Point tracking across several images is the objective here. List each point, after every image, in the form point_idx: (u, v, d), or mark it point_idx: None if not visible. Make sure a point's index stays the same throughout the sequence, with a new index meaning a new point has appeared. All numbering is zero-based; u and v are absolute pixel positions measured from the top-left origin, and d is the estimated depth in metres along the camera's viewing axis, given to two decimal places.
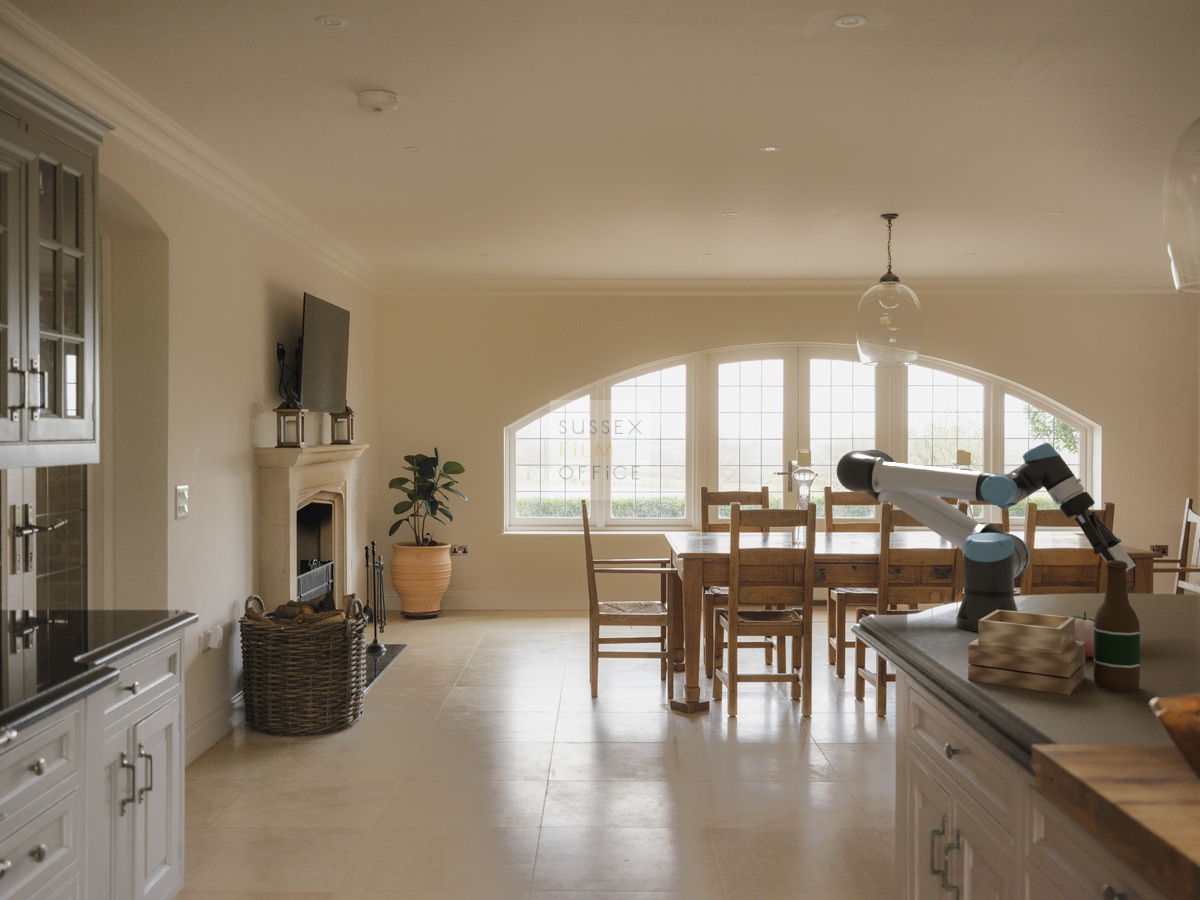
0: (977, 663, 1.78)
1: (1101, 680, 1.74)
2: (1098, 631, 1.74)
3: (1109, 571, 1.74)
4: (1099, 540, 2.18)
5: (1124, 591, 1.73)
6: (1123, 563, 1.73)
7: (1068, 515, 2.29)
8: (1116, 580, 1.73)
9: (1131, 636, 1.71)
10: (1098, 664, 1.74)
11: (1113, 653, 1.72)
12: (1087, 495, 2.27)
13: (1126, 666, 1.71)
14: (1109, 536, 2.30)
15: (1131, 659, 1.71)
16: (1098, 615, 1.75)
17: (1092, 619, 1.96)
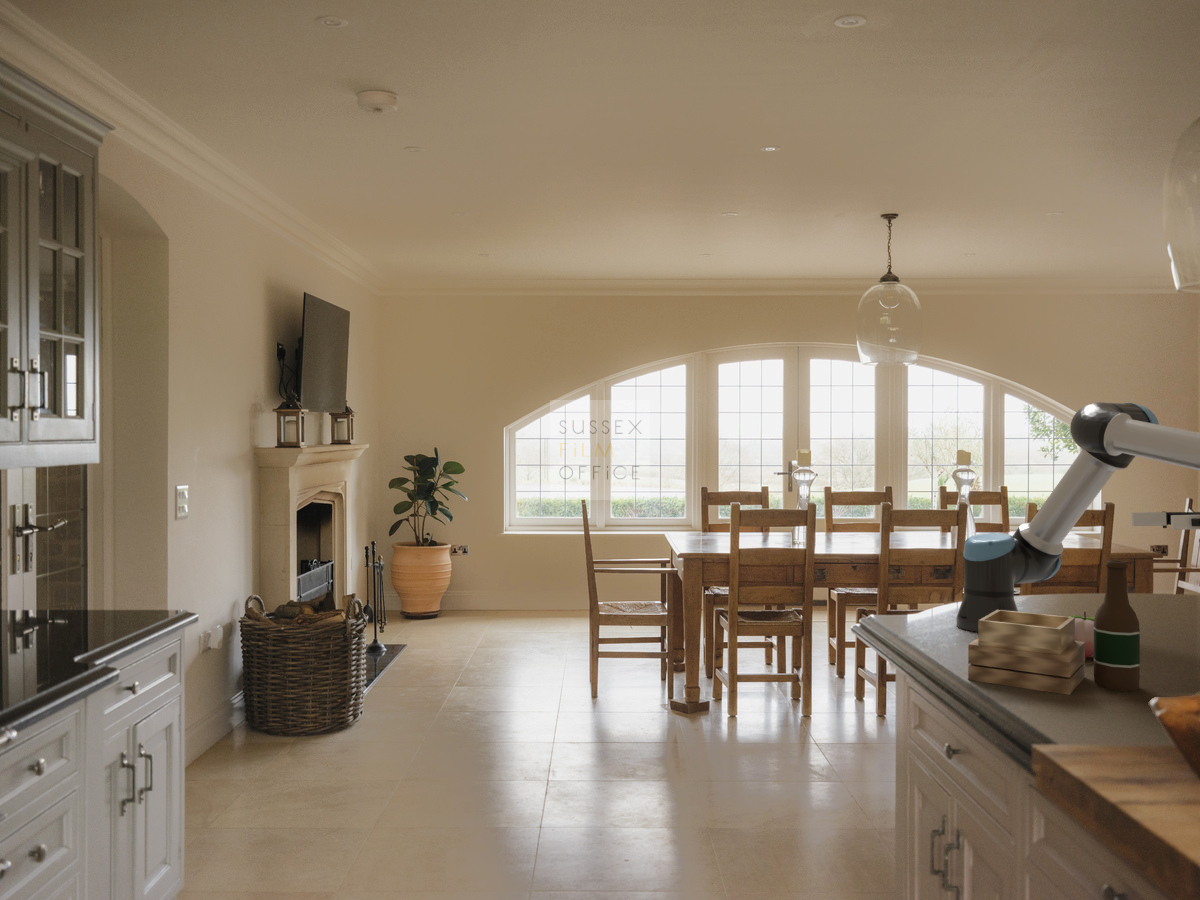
0: (977, 663, 1.78)
1: (1101, 680, 1.74)
2: (1098, 631, 1.74)
3: (1109, 571, 1.74)
4: None
5: (1124, 591, 1.73)
6: (1123, 563, 1.73)
7: None
8: (1116, 580, 1.73)
9: (1131, 636, 1.71)
10: (1098, 664, 1.74)
11: (1113, 653, 1.72)
12: None
13: (1126, 666, 1.71)
14: None
15: (1131, 659, 1.71)
16: (1098, 615, 1.75)
17: (1092, 619, 1.96)
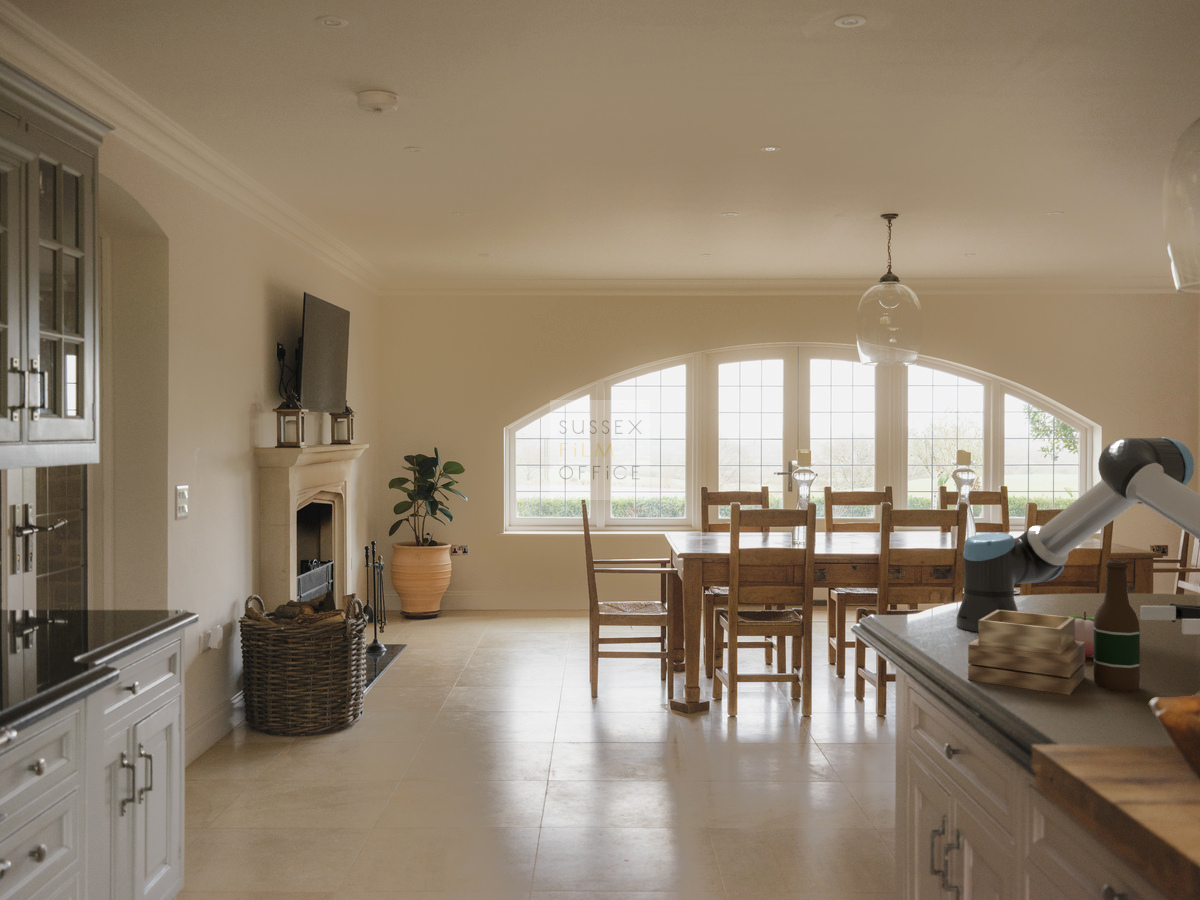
0: (977, 663, 1.78)
1: (1101, 680, 1.74)
2: (1098, 631, 1.74)
3: (1109, 571, 1.74)
4: None
5: (1124, 591, 1.73)
6: (1123, 563, 1.73)
7: None
8: (1116, 580, 1.73)
9: (1131, 636, 1.71)
10: (1098, 664, 1.74)
11: (1113, 653, 1.72)
12: None
13: (1126, 666, 1.71)
14: (1191, 618, 1.79)
15: (1131, 659, 1.71)
16: (1098, 615, 1.75)
17: (1092, 619, 1.96)
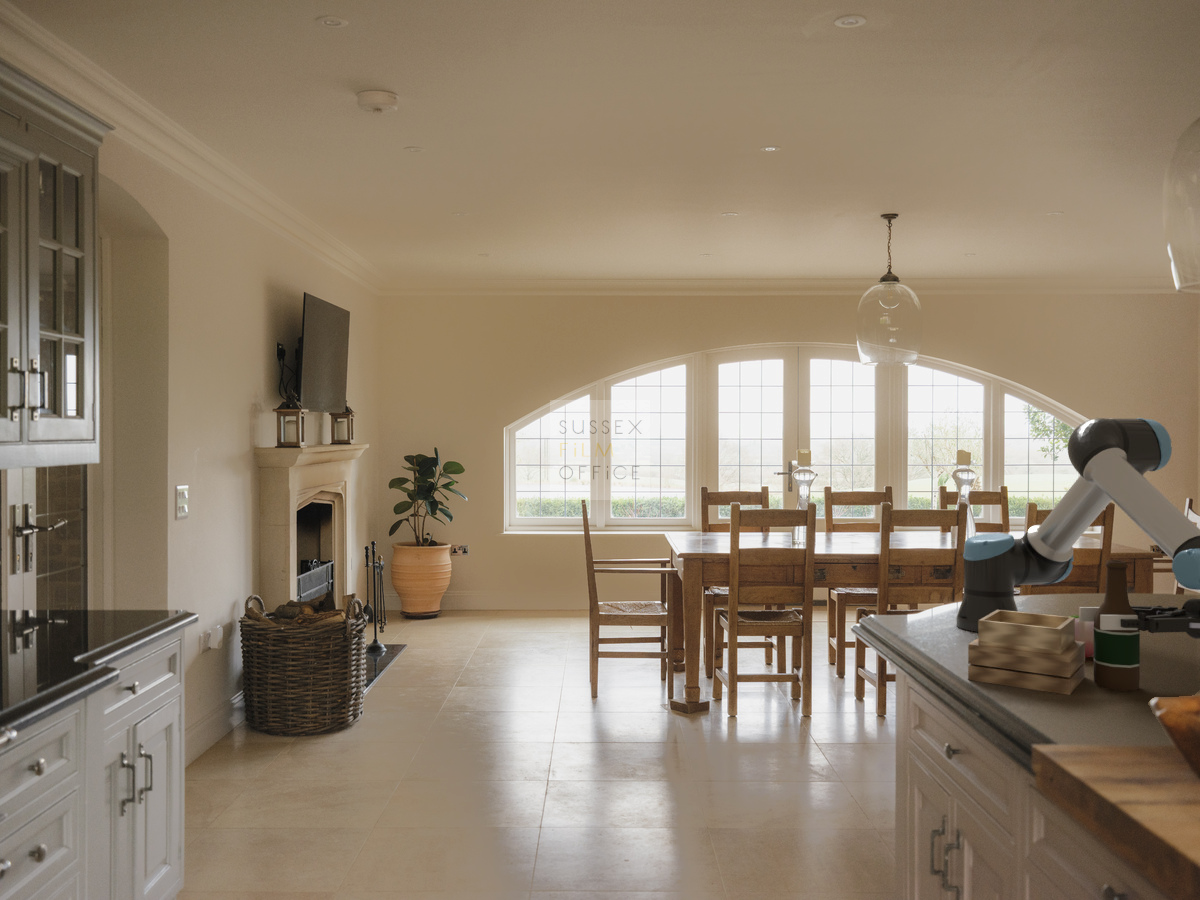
0: (977, 663, 1.78)
1: (1101, 680, 1.74)
2: (1098, 631, 1.74)
3: (1109, 571, 1.74)
4: (1159, 630, 1.67)
5: (1124, 591, 1.73)
6: (1123, 563, 1.73)
7: None
8: (1116, 580, 1.73)
9: (1131, 635, 1.71)
10: (1098, 664, 1.74)
11: (1113, 653, 1.72)
12: None
13: (1126, 666, 1.71)
14: None
15: (1131, 659, 1.71)
16: (1098, 615, 1.75)
17: None
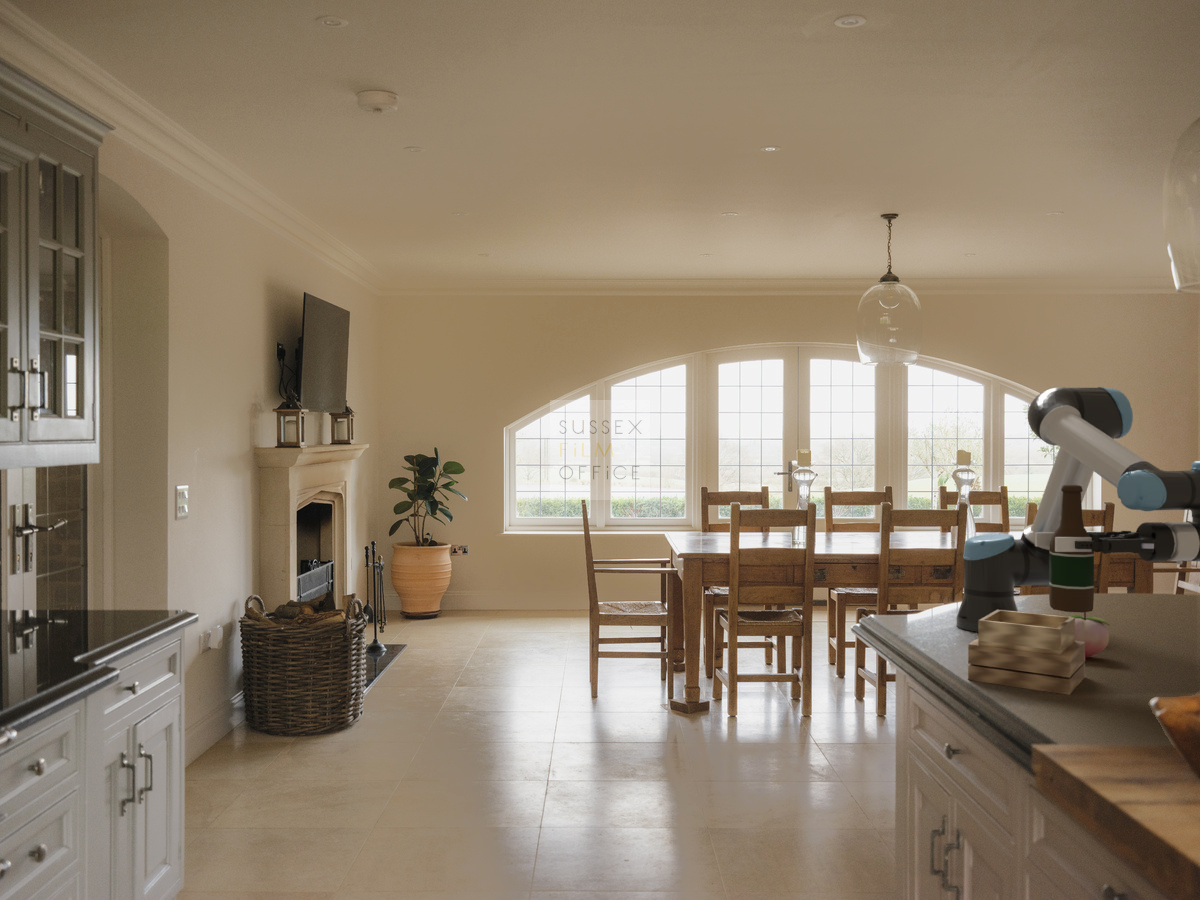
0: (977, 663, 1.78)
1: (1056, 602, 1.76)
2: (1053, 554, 1.76)
3: (1064, 495, 1.76)
4: (1112, 551, 1.69)
5: (1079, 515, 1.75)
6: (1078, 487, 1.75)
7: (1155, 529, 1.74)
8: (1071, 504, 1.75)
9: (1085, 557, 1.73)
10: (1053, 587, 1.76)
11: (1068, 575, 1.73)
12: (1161, 560, 1.75)
13: (1080, 588, 1.73)
14: None
15: (1085, 580, 1.73)
16: (1053, 539, 1.77)
17: (1092, 619, 1.96)
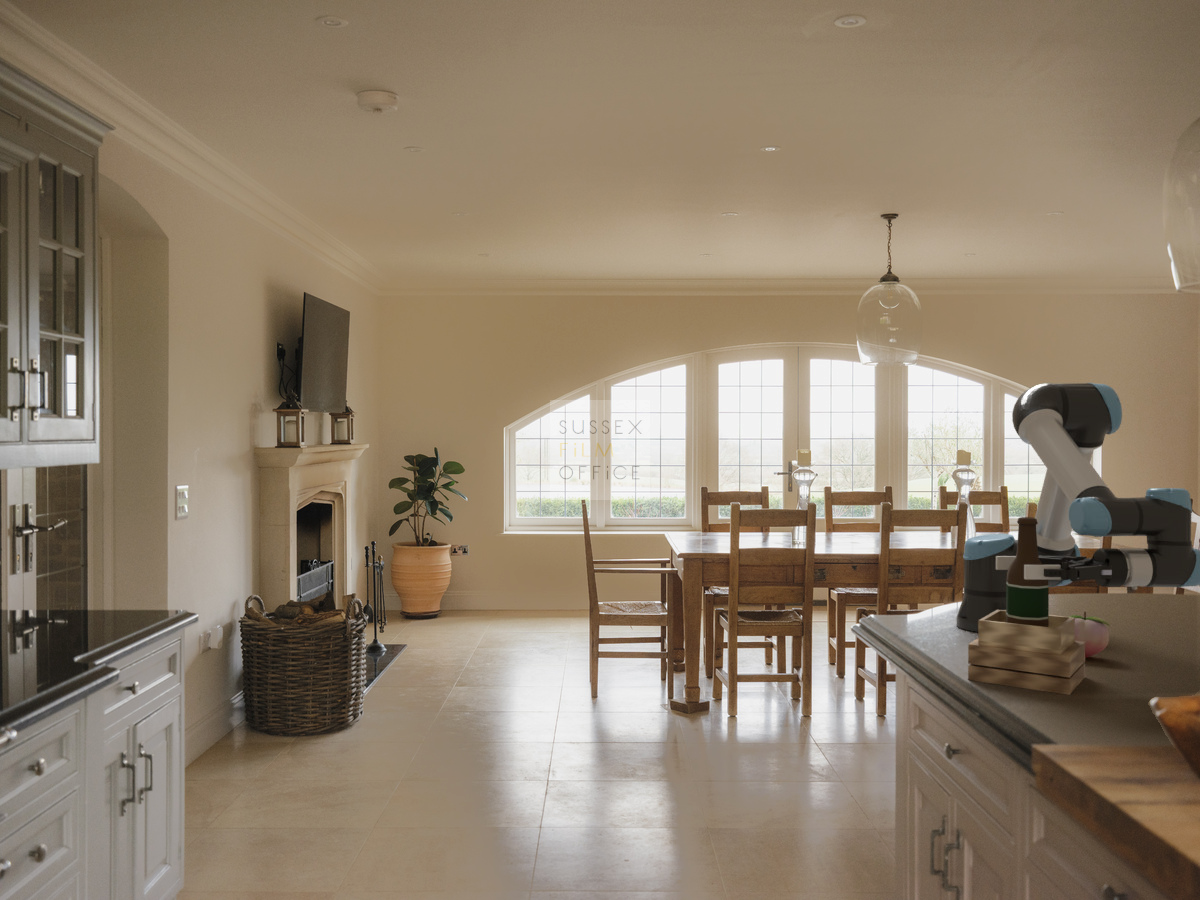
0: (977, 663, 1.78)
1: None
2: (1009, 585, 1.80)
3: (1020, 527, 1.80)
4: (1080, 579, 1.71)
5: (1034, 547, 1.79)
6: (1033, 519, 1.79)
7: (1109, 555, 1.77)
8: (1026, 536, 1.79)
9: (1039, 589, 1.77)
10: (1009, 617, 1.80)
11: (1022, 606, 1.77)
12: (1115, 586, 1.79)
13: (1035, 618, 1.77)
14: None
15: (1040, 612, 1.77)
16: (1010, 570, 1.81)
17: (1092, 619, 1.96)
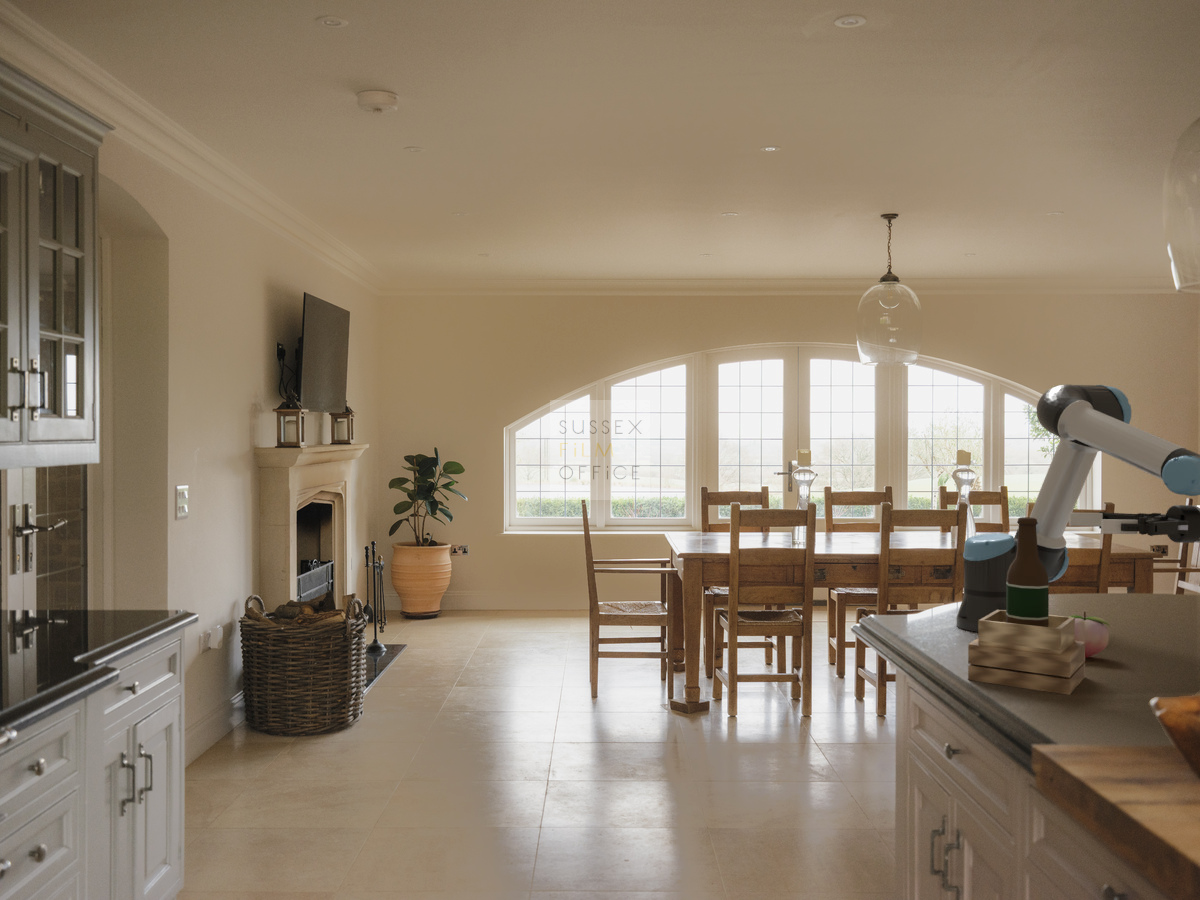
0: (977, 663, 1.78)
1: None
2: (1009, 585, 1.80)
3: (1020, 527, 1.80)
4: (1157, 533, 1.74)
5: (1034, 547, 1.79)
6: (1033, 519, 1.79)
7: (1184, 511, 1.81)
8: (1026, 536, 1.79)
9: (1039, 589, 1.77)
10: (1009, 617, 1.80)
11: (1022, 606, 1.77)
12: (1189, 542, 1.82)
13: (1035, 618, 1.77)
14: None
15: (1040, 612, 1.77)
16: (1010, 570, 1.81)
17: (1092, 619, 1.96)
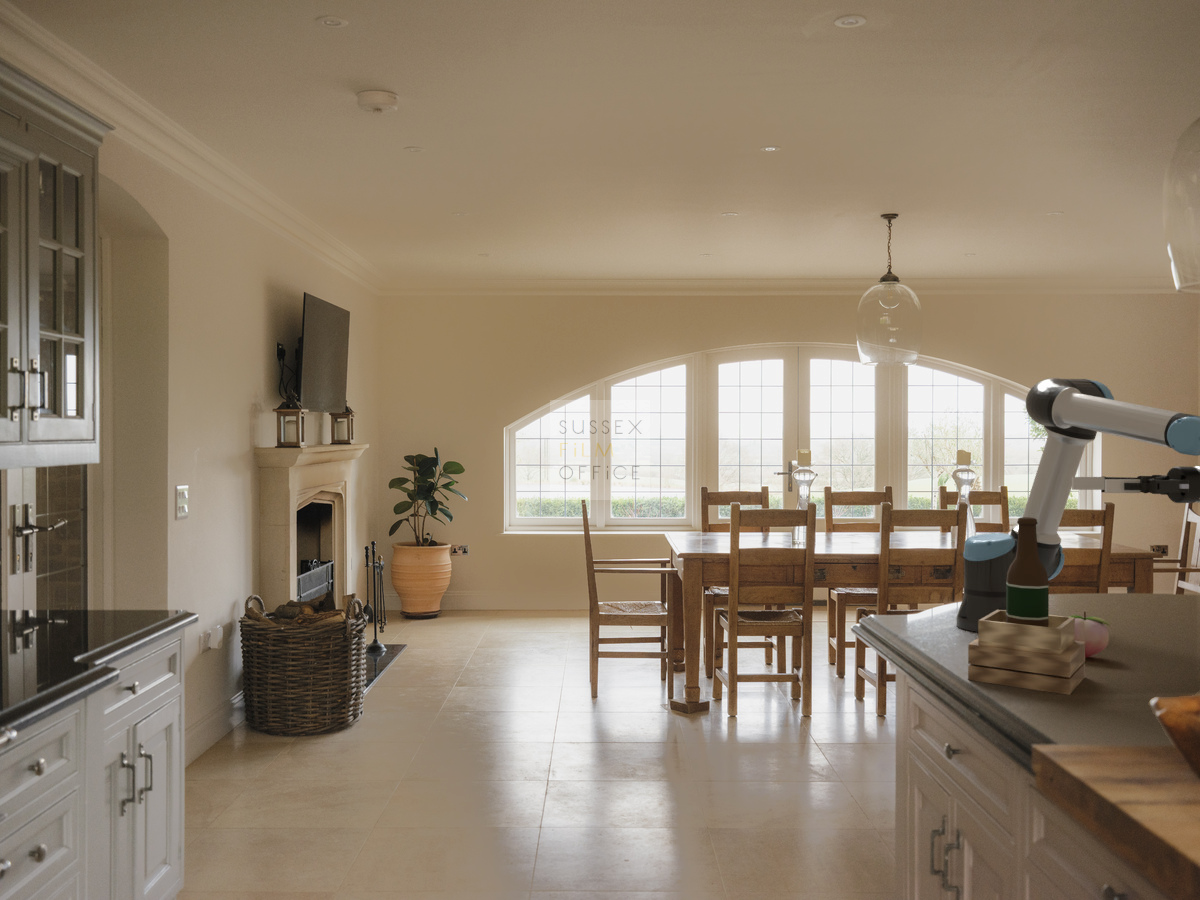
0: (977, 663, 1.78)
1: None
2: (1009, 585, 1.80)
3: (1020, 527, 1.80)
4: (1160, 491, 1.78)
5: (1034, 547, 1.79)
6: (1033, 519, 1.79)
7: (1184, 472, 1.85)
8: (1026, 536, 1.79)
9: (1039, 589, 1.77)
10: (1009, 617, 1.80)
11: (1022, 606, 1.77)
12: (1190, 502, 1.86)
13: (1035, 618, 1.77)
14: None
15: (1040, 612, 1.77)
16: (1010, 570, 1.81)
17: (1092, 619, 1.96)
